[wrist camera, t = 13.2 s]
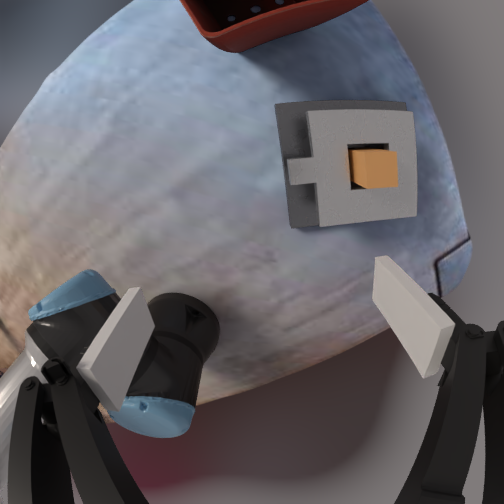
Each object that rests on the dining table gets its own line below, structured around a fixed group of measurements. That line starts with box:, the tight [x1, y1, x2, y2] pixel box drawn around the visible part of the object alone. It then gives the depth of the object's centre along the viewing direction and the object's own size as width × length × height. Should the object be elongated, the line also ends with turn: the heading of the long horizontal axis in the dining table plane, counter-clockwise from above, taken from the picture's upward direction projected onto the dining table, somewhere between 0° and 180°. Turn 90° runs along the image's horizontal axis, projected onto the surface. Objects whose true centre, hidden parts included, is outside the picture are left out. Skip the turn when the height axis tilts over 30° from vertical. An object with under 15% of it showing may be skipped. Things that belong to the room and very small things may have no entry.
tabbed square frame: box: [275, 100, 417, 229], centre depth 33 cm, size 18×20×8 cm
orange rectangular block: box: [348, 147, 398, 189], centre depth 31 cm, size 4×4×10 cm
